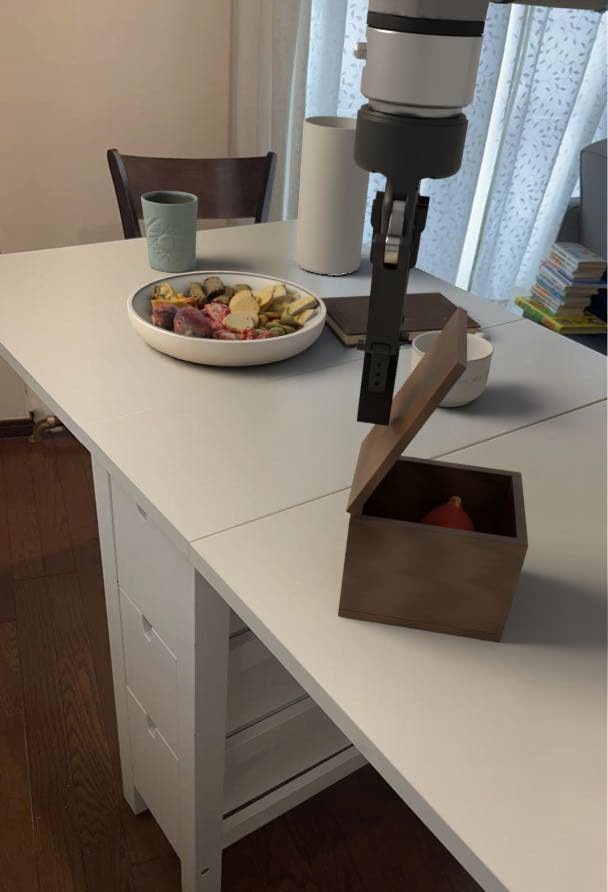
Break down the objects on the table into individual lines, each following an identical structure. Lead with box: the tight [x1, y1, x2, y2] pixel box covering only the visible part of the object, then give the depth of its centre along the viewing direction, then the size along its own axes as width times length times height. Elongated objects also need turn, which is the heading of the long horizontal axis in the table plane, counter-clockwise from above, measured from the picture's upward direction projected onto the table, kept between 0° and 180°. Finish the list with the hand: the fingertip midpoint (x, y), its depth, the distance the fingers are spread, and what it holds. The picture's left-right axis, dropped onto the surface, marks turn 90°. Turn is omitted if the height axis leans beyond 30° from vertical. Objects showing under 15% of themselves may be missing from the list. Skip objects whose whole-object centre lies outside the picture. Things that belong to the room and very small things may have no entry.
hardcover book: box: [320, 291, 482, 349], centre depth 131 cm, size 16×23×2 cm
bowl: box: [126, 270, 326, 367], centre depth 122 cm, size 30×30×8 cm
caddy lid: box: [345, 305, 468, 516], centre depth 66 cm, size 16×12×1 cm
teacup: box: [410, 331, 495, 408], centre depth 110 cm, size 14×11×8 cm
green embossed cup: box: [140, 190, 199, 273], centre depth 146 cm, size 10×10×12 cm
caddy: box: [337, 454, 529, 643], centre depth 74 cm, size 15×12×11 cm
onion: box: [419, 496, 476, 532], centre depth 75 cm, size 6×6×8 cm
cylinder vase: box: [295, 115, 371, 275], centre depth 147 cm, size 12×12×25 cm
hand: (373, 419), depth 67 cm, fingers closed
